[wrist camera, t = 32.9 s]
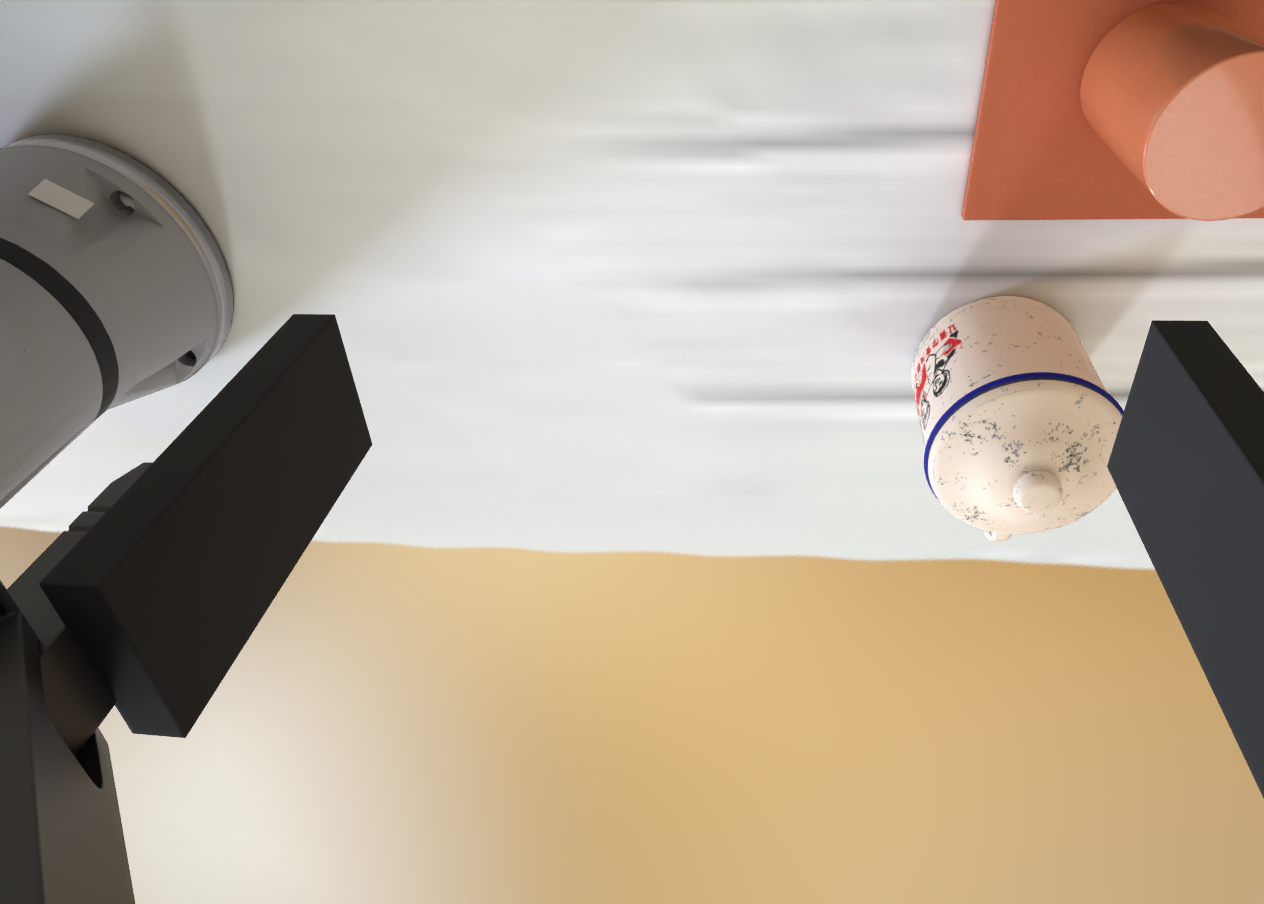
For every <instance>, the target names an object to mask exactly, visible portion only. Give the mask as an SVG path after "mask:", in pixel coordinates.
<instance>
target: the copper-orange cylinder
mask: <svg viewBox="0 0 1264 904" xmlns="http://www.w3.org/2000/svg"><path fill="white" fill-rule="evenodd" d="M1080 100H1081V107H1082V110H1083V114H1084V116H1085V118H1086V120H1087V122H1088V123H1089V125H1090V126H1091V128H1092V129H1093V130H1094V131H1095V132H1096V133H1097V134H1098V136H1099V137H1100V138H1101V139H1102V140H1103V141H1104V142H1105V143H1106V144H1107V146H1108V147H1109V148H1110V149H1111V150H1112V151H1113V152H1114V153H1115V154H1116V156H1117V157H1118V158H1119V159H1120V160H1121V161H1122V162H1123V163H1124V164H1125V166H1126V167H1127V168H1128V169H1129V170H1130V171H1131V172H1132V173H1133V174H1134V176H1135V177H1136V178H1137V179H1138V180H1139V181H1140V182H1141V183H1142V184H1143V186H1144V187H1145V188H1146V189H1147V190H1148V191H1149V192H1150V193H1151V194H1152V196H1153V197H1154V198H1155V199H1156V200H1157V201H1158V202H1159V203H1160V204H1161V205H1162V206H1163V207H1165V208H1166V209H1168V210H1169V211H1171V212H1173V213H1175V214H1177V215H1179V216H1182V217H1185V218H1189V219H1194V220H1204V221H1215V220H1225V219H1231V218H1235V217H1239V216H1243V215H1246V214H1249V213H1251V212H1254V211H1256V210H1259V209H1261V208H1263V207H1264V37H1263V36H1261V35H1259V34H1257V33H1255V32H1254V31H1252V30H1250V29H1248V28H1246V27H1244V26H1242V25H1240V24H1238V23H1236V22H1234V21H1232V20H1230V19H1228V18H1226V17H1224V16H1223V15H1221V14H1219V13H1217V12H1215V11H1213V10H1211V9H1209V8H1207V7H1205V6H1203V5H1200V4H1197V3H1193V2H1187V1H1170V2H1163V3H1159V4H1155V5H1152V6H1149V7H1146V8H1144V9H1141V10H1139V11H1137V12H1135V13H1133V14H1132V15H1130V16H1129V17H1127V18H1125V19H1124V20H1123V21H1121V22H1120V23H1119V24H1117V25H1116V26H1115V27H1114V28H1113V29H1112V30H1111V31H1110V32H1109V33H1107V35H1106V36H1105V37H1104V38H1103V39H1102V40H1101V41H1100V43H1099V44H1098V46H1097V47H1096V48H1095V50H1094V51H1093V53H1092V55H1091V57H1090V59H1089V60H1088V63H1087V65H1086V67H1085V70H1084V73H1083V77H1082V81H1081V88H1080Z"/></svg>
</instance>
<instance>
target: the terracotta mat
mask: <svg viewBox="0 0 1264 904" xmlns="http://www.w3.org/2000/svg"><path fill="white" fill-rule="evenodd" d="M1170 1H1187V2H1193V3H1197V4H1200V5H1203V6H1205V7H1207V8H1209V9H1211V10H1213V11H1215V12H1217V13H1219V14H1221V15H1223V16H1224V17H1226V18H1228V19H1230V20H1232V21H1234V22H1236V23H1238V24H1240V25H1242V26H1244V27H1246V28H1248V29H1250V30H1252V31H1254V32H1255V33H1257V34H1259V35H1261V36H1263V37H1264V0H996V2H995V8H994V15H993V21H992V27H991V34H990V40H989V46H988V52H987V59H986V65H985V71H984V78H983V84H982V90H981V97H980V103H979V109H978V115H977V122H976V128H975V134H974V141H973V147H972V153H971V160H970V166H969V172H968V179H967V185H966V191H965V197H964V204H963V210H962V218H963V220H1061V219H1189V218H1185V217H1182V216H1179V215H1177V214H1175V213H1173V212H1171V211H1169V210H1168V209H1166V208H1165V207H1163V206H1162V205H1161V204H1160V203H1159V202H1158V201H1157V200H1156V199H1155V198H1154V197H1153V196H1152V194H1151V193H1150V192H1149V191H1148V190H1147V189H1146V188H1145V187H1144V186H1143V184H1142V183H1141V182H1140V181H1139V180H1138V179H1137V178H1136V177H1135V176H1134V174H1133V173H1132V172H1131V171H1130V170H1129V169H1128V168H1127V167H1126V166H1125V164H1124V163H1123V162H1122V161H1121V160H1120V159H1119V158H1118V157H1117V156H1116V154H1115V153H1114V152H1113V151H1112V150H1111V149H1110V148H1109V147H1108V146H1107V144H1106V143H1105V142H1104V141H1103V140H1102V139H1101V138H1100V137H1099V136H1098V134H1097V133H1096V132H1095V131H1094V130H1093V129H1092V128H1091V126H1090V125H1089V123H1088V122H1087V120H1086V118H1085V116H1084V114H1083V110H1082V107H1081V100H1080V88H1081V81H1082V77H1083V73H1084V70H1085V67H1086V65H1087V63H1088V60H1089V59H1090V57H1091V55H1092V53H1093V51H1094V50H1095V48H1096V47H1097V46H1098V44H1099V43H1100V41H1101V40H1102V39H1103V38H1104V37H1105V36H1106V35H1107V33H1109V32H1110V31H1111V30H1112V29H1113V28H1114V27H1115V26H1116V25H1117V24H1119V23H1120V22H1121V21H1123V20H1124V19H1125V18H1127V17H1129V16H1130V15H1132V14H1133V13H1135V12H1137V11H1139V10H1141V9H1144V8H1146V7H1149V6H1152V5H1155V4H1159V3H1163V2H1170ZM1235 218H1264V207H1263V208H1261V209H1259V210H1256V211H1254V212H1251V213H1249V214H1246V215H1243V216H1239V217H1235Z"/></svg>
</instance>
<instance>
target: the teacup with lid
mask: <svg viewBox="0 0 1264 904" xmlns="http://www.w3.org/2000/svg"><path fill="white" fill-rule="evenodd" d="M911 379H912V386H913V391H914V396H915V401H916V406H917V410H918V415H919V420H920V425H921V430H922V435H923V439H924V444H925V454H924V469H925V475H926V479H927V481H928V484H929V486H930V488H931V490H932V492H933V494H934V495H935V497H936V498H937V499H938V500H939V501H940V503H941V504H942V505H943V506H944V507H945V508H946V509H947V510H948V511H949V512H950V513H952V514H953V515H955V516H956V517H957V518H959V519H961V520H962V521H964V522H966V523H968V524H970V525H972V526H975V527H978V528H980V529H982V531H983V533H984V535H985V537H986V538H987V539H989V540H991V541H1005V540H1008V539H1009V538H1010V537H1011V536H1012V534H1028V533H1037V532H1043V531H1047V530H1051V529H1055V528H1058V527H1061V526H1064V525H1066V524H1069V523H1071V522H1073V521H1076V520H1078V519H1080V518H1081V517H1083V516H1085V515H1087V514H1088V513H1090V512H1091V511H1093V510H1094V509H1095V508H1097V507H1098V506H1099V505H1101V504H1102V503H1103V502H1104V501H1105V500H1106V499H1107V498H1108V497H1109V496H1110V495H1111V494H1112V493H1113V491H1114V490H1115V489H1116V485H1115V483H1114V481H1113V479H1112V476H1111V474H1110V472H1109V470H1108V468H1107V465H1108V462H1109V458H1110V455H1111V452H1112V449H1113V445H1114V442H1115V439H1116V436H1117V432H1118V429H1119V426H1120V423H1121V420H1122V416H1123V413H1124V411H1123V409H1122V408H1121V406H1120V405H1119V404H1118V402H1117V401H1116V400H1115V399H1114V398H1113V397H1112V396H1111V395H1110V394H1108V393H1107V392H1106V390H1105V388H1104V386H1103V384H1102V382H1101V380H1100V378H1099V376H1098V375H1097V373H1096V371H1095V369H1094V367H1093V365H1092V363H1091V361H1090V359H1089V357H1088V356H1087V354H1086V352H1085V350H1084V348H1083V346H1082V344H1081V342H1080V340H1079V339H1078V337H1077V335H1076V333H1075V331H1074V329H1073V327H1072V326H1071V325H1070V323H1069V322H1068V321H1067V320H1066V319H1065V318H1064V316H1062V315H1061V314H1060V313H1059V312H1058V311H1056V310H1055V309H1053V308H1052V307H1050V306H1048V305H1046V304H1044V303H1042V302H1039V301H1036V300H1033V299H1029V298H1024V297H1017V296H996V297H989V298H984V299H980V300H977V301H974V302H971V303H968V304H966V305H963V306H961V307H959V308H957V309H955V310H954V311H952V312H950V313H949V314H947V315H946V316H945V317H943V318H942V319H941V320H939V321H938V322H937V323H936V324H935V325H934V326H933V327H932V328H931V329H930V330H929V331H928V333H927V334H926V335H925V337H924V338H923V340H922V341H921V343H920V345H919V347H918V348H917V351H916V353H915V356H914V359H913V364H912V373H911Z"/></svg>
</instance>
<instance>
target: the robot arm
mask: <svg viewBox="0 0 1264 904" xmlns="http://www.w3.org/2000/svg"><path fill="white" fill-rule="evenodd" d="M232 317H233V292H232V286H231V281H230V276H229V273H228V270H227V267H226V264H225V261H224V259H223V256H222V254H221V252H220V250H219V248H218V246H217V244H216V242H215V240H214V238H213V237H212V235H211V233H210V232H209V230H208V228H207V227H206V225H205V224H204V223H203V221H202V220H201V218H200V217H199V216H198V214H197V213H196V212H195V211H194V210H193V208H192V207H191V206H190V205H189V204H188V203H187V202H186V200H185V199H184V198H183V197H182V196H181V195H180V194H179V193H178V192H177V191H176V190H175V189H174V188H173V187H171V186H170V185H169V184H168V183H167V182H166V181H165V180H163V179H162V178H161V177H160V176H158V175H157V174H156V173H155V172H153V171H152V170H150V169H149V168H147V167H146V166H145V165H143V164H142V163H140V162H138V161H137V160H135V159H133V158H132V157H130V156H128V155H126V154H124V153H122V152H120V151H118V150H116V149H114V148H112V147H109V146H107V145H104V144H102V143H99V142H96V141H92V140H89V139H85V138H81V137H77V136H70V135H61V134H46V135H36V136H32V137H27V138H24V139H21V140H18V141H16V142H14V143H11V144H9V145H7V146H5V147H3V148H0V508H1V507H2V506H4V505H5V504H6V503H7V502H8V501H9V500H10V499H11V498H12V497H13V496H14V495H15V494H16V493H17V492H19V491H20V490H21V489H22V488H23V487H24V486H25V485H26V484H27V483H28V482H29V481H30V480H31V479H32V478H34V477H35V476H36V475H37V474H38V473H39V472H40V471H41V470H42V469H43V468H44V467H45V466H46V465H47V464H49V463H50V462H51V461H52V460H53V459H54V458H55V457H56V456H57V455H58V454H59V453H60V452H61V451H62V450H64V449H65V448H66V447H67V446H68V445H69V444H70V443H71V442H72V441H73V440H74V439H75V438H77V437H78V436H79V435H80V434H81V433H82V432H83V431H84V430H85V429H86V428H88V426H89V425H90V424H91V423H93V422H94V421H95V420H96V419H97V418H98V417H99V416H100V415H101V414H103V413H104V412H105V411H106V410H108V409H110V408H113V407H116V406H119V405H121V404H124V403H127V402H130V401H132V400H135V399H138V398H141V397H143V396H146V395H149V394H152V393H154V392H157V391H160V390H163V389H165V388H168V387H171V386H173V385H176V384H178V383H181V382H183V381H185V380H187V379H188V378H190V377H191V376H193V375H194V374H195V373H197V372H198V371H199V370H200V369H201V368H202V367H203V366H204V365H205V364H206V363H207V362H208V361H209V360H210V359H211V358H212V357H213V356H214V355H215V354H216V353H217V352H218V351H219V349H220V348H221V347H222V345H223V343H224V342H225V340H226V338H227V335H228V333H229V330H230V327H231V323H232ZM371 446H372V442H371V438H370V435H369V431H368V428H367V425H366V421H365V418H364V414H363V411H362V407H361V404H360V400H359V397H358V393H357V390H356V386H355V383H354V380H353V376H352V373H351V369H350V366H349V362H348V359H347V355H346V352H345V348H344V345H343V342H342V338H341V335H340V331H339V328H338V324H337V321H336V317H335V315H314V314H293V315H292V316H291V317H290V319H289V320H288V321H287V322H286V323H285V324H284V325H283V326H282V327H281V328H280V329H279V330H278V331H277V332H276V333H275V334H274V335H273V336H272V338H271V339H270V340H269V341H268V342H267V343H266V344H265V345H264V346H263V347H262V348H261V349H260V350H259V351H258V352H257V353H256V354H255V356H254V357H253V358H252V359H251V360H250V361H249V362H248V363H247V364H246V365H245V366H244V367H243V368H242V369H241V370H240V371H239V372H238V373H237V375H236V376H235V377H234V378H233V379H232V380H231V381H230V382H229V383H228V384H227V385H226V386H225V387H224V388H223V389H222V390H221V391H220V393H219V394H218V395H217V396H216V397H215V398H214V399H213V400H212V401H211V402H210V403H209V404H208V405H207V406H206V407H205V408H204V409H203V410H202V412H201V413H200V414H199V415H198V416H197V417H196V418H195V419H194V420H193V421H192V422H191V423H190V424H189V425H188V426H187V427H186V428H185V430H184V431H183V432H182V433H181V434H180V435H179V436H178V437H177V438H176V439H175V440H174V441H173V442H172V443H171V444H170V445H169V446H168V448H167V449H166V450H165V451H164V452H163V453H162V454H161V455H160V456H159V457H158V458H157V459H156V460H155V461H154V462H153V463H142V464H141V465H139V466H138V467H136V468H134V469H133V470H131V471H130V472H128V473H126V474H125V475H123V476H122V477H120V478H118V479H117V480H115V481H114V482H112V483H111V484H110V485H109V486H108V487H107V488H106V489H105V490H104V491H103V492H102V493H101V494H100V495H99V496H98V497H97V498H96V499H95V500H94V501H93V502H92V503H91V504H90V505H89V506H88V511H87V512H82V513H81V514H80V515H79V516H78V517H77V518H76V519H75V520H74V521H73V523H72V524H71V525H70V526H69V531H64V532H63V533H62V534H61V535H60V536H59V537H58V538H57V539H56V540H55V541H54V542H53V543H52V544H51V545H50V546H49V547H48V548H47V549H46V550H45V551H44V552H43V553H42V554H41V555H40V556H39V557H38V558H37V559H36V560H35V561H34V562H33V563H32V564H31V566H29V568H27V570H26V571H25V572H24V573H23V574H22V575H21V576H20V577H19V578H18V579H17V580H16V581H15V582H14V583H13V584H12V585H11V586H10V587H9V588H8V589H6V588H5V586H4V585H3V583H2V582H1V580H0V904H135V899H134V894H133V888H132V882H131V876H130V870H129V864H128V858H127V853H126V847H125V841H124V835H123V829H122V823H121V817H120V812H119V806H118V800H117V794H116V788H115V782H114V777H113V770H112V765H111V759H110V753H109V747H108V744H107V742H106V740H105V738H104V736H103V735H102V733H101V731H100V730H99V728H98V727H99V725H100V724H101V723H102V721H103V720H104V718H105V717H106V716H107V714H108V713H109V712H110V710H111V709H112V708H113V706H114V705H115V706H116V707H117V709H118V711H119V712H120V714H121V715H122V717H123V719H124V720H125V721H126V723H127V725H128V726H129V728H130V730H131V731H132V733H134V734H146V735H158V736H170V737H183V738H186V736H187V734H188V733H189V731H190V730H191V728H192V727H193V725H194V724H195V722H196V720H197V719H198V717H199V716H200V714H201V713H202V711H203V709H204V708H205V706H206V705H207V703H208V701H209V700H210V698H211V697H212V695H213V694H214V692H215V691H216V689H217V687H218V686H219V684H220V683H221V681H222V680H223V678H224V676H225V675H226V673H227V672H228V670H229V668H230V667H231V665H232V664H233V662H234V661H235V659H236V658H237V656H238V654H239V653H240V651H241V649H242V648H243V646H244V645H245V643H246V642H247V640H248V639H249V637H250V636H251V634H252V632H253V631H254V629H255V628H256V626H257V625H258V623H259V621H260V620H261V618H262V617H263V615H264V614H265V612H266V610H267V609H268V607H269V606H270V604H271V602H272V601H273V599H274V598H275V596H276V595H277V593H278V592H279V590H280V588H281V587H282V585H283V584H284V582H285V581H286V579H287V578H288V576H289V574H290V573H291V571H292V570H293V568H294V567H295V565H296V563H297V562H298V560H299V559H300V557H301V556H302V553H303V552H304V551H305V549H306V548H307V546H308V544H309V543H310V541H311V540H312V538H313V537H314V535H315V534H316V532H317V530H318V529H319V527H320V526H321V524H322V523H323V521H324V519H325V518H326V516H327V515H328V513H329V512H330V510H331V508H332V507H333V505H334V504H335V502H336V501H337V499H338V497H339V496H340V494H341V493H342V491H343V490H344V488H345V486H346V485H347V483H348V482H349V480H350V479H351V477H352V475H353V474H354V472H355V471H356V469H357V468H358V466H359V464H360V463H361V461H362V460H363V458H364V457H365V455H366V453H367V452H368V450H369V449H370V447H371ZM1107 468H1108V470H1109V472H1110V474H1111V476H1112V479H1113V481H1114V483H1115V485H1116V487H1117V489H1118V491H1119V493H1120V495H1121V498H1122V500H1123V502H1124V504H1125V506H1126V508H1127V510H1128V512H1129V514H1130V517H1131V519H1132V521H1133V523H1134V525H1135V527H1136V529H1137V531H1138V533H1139V536H1140V538H1141V540H1142V542H1143V544H1144V546H1145V548H1146V550H1147V553H1148V555H1149V557H1150V559H1151V561H1152V563H1153V565H1154V567H1155V569H1156V572H1157V574H1158V576H1159V578H1160V580H1161V582H1162V584H1163V586H1164V588H1165V590H1166V593H1167V595H1168V597H1169V599H1170V601H1171V603H1172V605H1173V608H1174V609H1175V612H1176V614H1177V616H1178V618H1179V620H1180V622H1181V624H1182V627H1183V628H1184V631H1185V633H1186V635H1187V637H1188V639H1189V641H1190V643H1191V646H1192V648H1193V650H1194V652H1195V654H1196V656H1197V658H1198V660H1199V662H1200V664H1201V667H1202V669H1203V671H1204V673H1205V675H1206V677H1207V679H1208V682H1209V684H1210V686H1211V688H1212V690H1213V692H1214V694H1215V696H1216V698H1217V701H1218V703H1219V704H1220V707H1221V709H1222V711H1223V713H1224V715H1225V717H1226V719H1227V721H1228V723H1229V726H1230V728H1231V730H1232V732H1233V734H1234V736H1235V739H1236V741H1237V743H1238V745H1239V747H1240V749H1241V751H1242V753H1243V756H1244V758H1245V760H1246V762H1247V764H1248V766H1249V768H1250V770H1251V772H1252V775H1253V777H1254V779H1255V781H1256V783H1257V785H1258V787H1259V789H1260V791H1261V794H1262V795H1263V798H1264V392H1263V391H1262V389H1261V388H1260V387H1259V386H1258V384H1257V383H1256V382H1255V381H1254V379H1253V378H1252V377H1251V376H1250V374H1249V373H1248V372H1247V371H1246V369H1245V368H1244V367H1243V365H1242V364H1241V363H1240V362H1239V360H1238V359H1237V358H1236V357H1235V355H1234V354H1233V353H1232V352H1231V350H1230V349H1229V348H1228V347H1227V345H1226V344H1225V343H1224V341H1223V340H1222V339H1221V338H1220V336H1219V335H1218V334H1217V333H1216V331H1215V330H1214V329H1213V328H1212V326H1211V325H1210V324H1209V323H1208V321H1152V323H1151V326H1150V329H1149V332H1148V336H1147V339H1146V342H1145V345H1144V349H1143V352H1142V355H1141V358H1140V361H1139V365H1138V368H1137V371H1136V374H1135V378H1134V381H1133V384H1132V387H1131V390H1130V394H1129V397H1128V400H1127V403H1126V407H1125V410H1124V413H1123V416H1122V420H1121V423H1120V426H1119V429H1118V432H1117V436H1116V439H1115V442H1114V445H1113V449H1112V452H1111V455H1110V458H1109V462H1108V465H1107Z"/></svg>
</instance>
